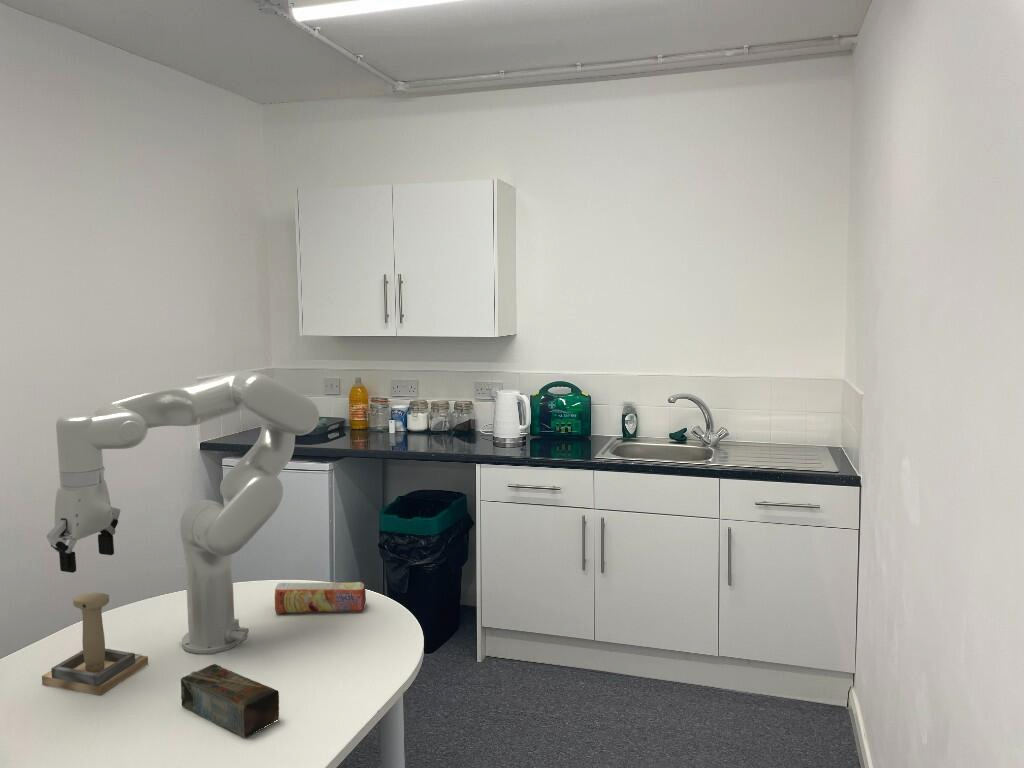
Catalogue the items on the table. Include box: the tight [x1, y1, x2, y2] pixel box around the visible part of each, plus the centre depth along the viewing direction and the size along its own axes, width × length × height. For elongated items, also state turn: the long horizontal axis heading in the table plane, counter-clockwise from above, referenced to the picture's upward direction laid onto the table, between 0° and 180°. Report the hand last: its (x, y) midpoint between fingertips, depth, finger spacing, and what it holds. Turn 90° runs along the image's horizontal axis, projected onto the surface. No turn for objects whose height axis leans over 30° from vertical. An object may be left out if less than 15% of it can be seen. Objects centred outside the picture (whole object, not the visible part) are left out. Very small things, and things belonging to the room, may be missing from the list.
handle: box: [72, 592, 110, 673], centre depth 164 cm, size 5×6×15 cm
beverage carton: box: [180, 663, 280, 738], centre depth 152 cm, size 8×19×7 cm, turn 56°
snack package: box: [274, 581, 367, 614], centre depth 198 cm, size 21×7×7 cm, turn 95°
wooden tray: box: [41, 647, 149, 696], centre depth 166 cm, size 14×13×4 cm
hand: (88, 562), depth 161 cm, fingers open, 9 cm apart
